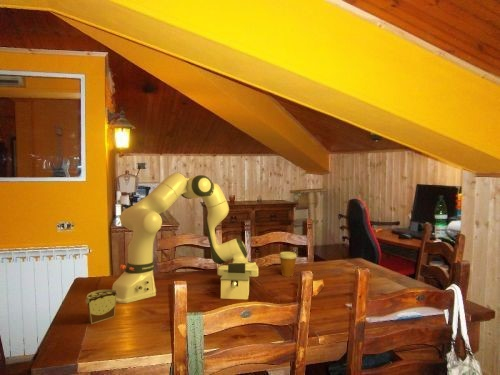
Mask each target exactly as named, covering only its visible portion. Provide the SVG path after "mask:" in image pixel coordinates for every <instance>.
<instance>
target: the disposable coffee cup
mask: <svg viewBox="0 0 500 375" xmlns="http://www.w3.org/2000/svg"><path fill="white" fill-rule="evenodd" d="M279 259H280V268H281V275H282V276H283V277H286V278H287V277H288V278H289V277H290V276H291V277H293V276H294V274H295V268H296V262H297V261H296V260H297V253H296V252H294V251H281V252H280V253H279Z"/></svg>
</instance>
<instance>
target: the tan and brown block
mask: <svg viewBox="0 0 500 375" xmlns="http://www.w3.org/2000/svg"><path fill="white" fill-rule="evenodd" d="M116 295H117V296H118V294H117V291H116V290H112V289H98V290H94V291H91V292H89V293H87V295H86V298H85V300H84V302H85V304H86V305H87V311H88V320H89V324H91V325H93V324H96V323H100V322H102V321H105V320H106V321H107V320H109V319H112V318H115V316H116V315H115V313H116V304H117V302H116Z"/></svg>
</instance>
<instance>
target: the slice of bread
mask: <svg viewBox="0 0 500 375" xmlns="http://www.w3.org/2000/svg"><path fill="white" fill-rule="evenodd" d="M324 287H325V282H324V280H323V279H319V280H313V295H312V296H311V297H315V296H317V295H319V294H320V293H319V292H321V291H322V290H323V288H324ZM318 293H319V294H318ZM314 295H315V296H314Z"/></svg>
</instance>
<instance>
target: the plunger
mask: <svg viewBox="0 0 500 375" xmlns="http://www.w3.org/2000/svg"><path fill="white" fill-rule="evenodd" d="M227 265H228V273H245V263H232V262H228V264H227ZM236 284H237V281H233V282H232V285H231V287H232V288H235V287H236Z"/></svg>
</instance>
